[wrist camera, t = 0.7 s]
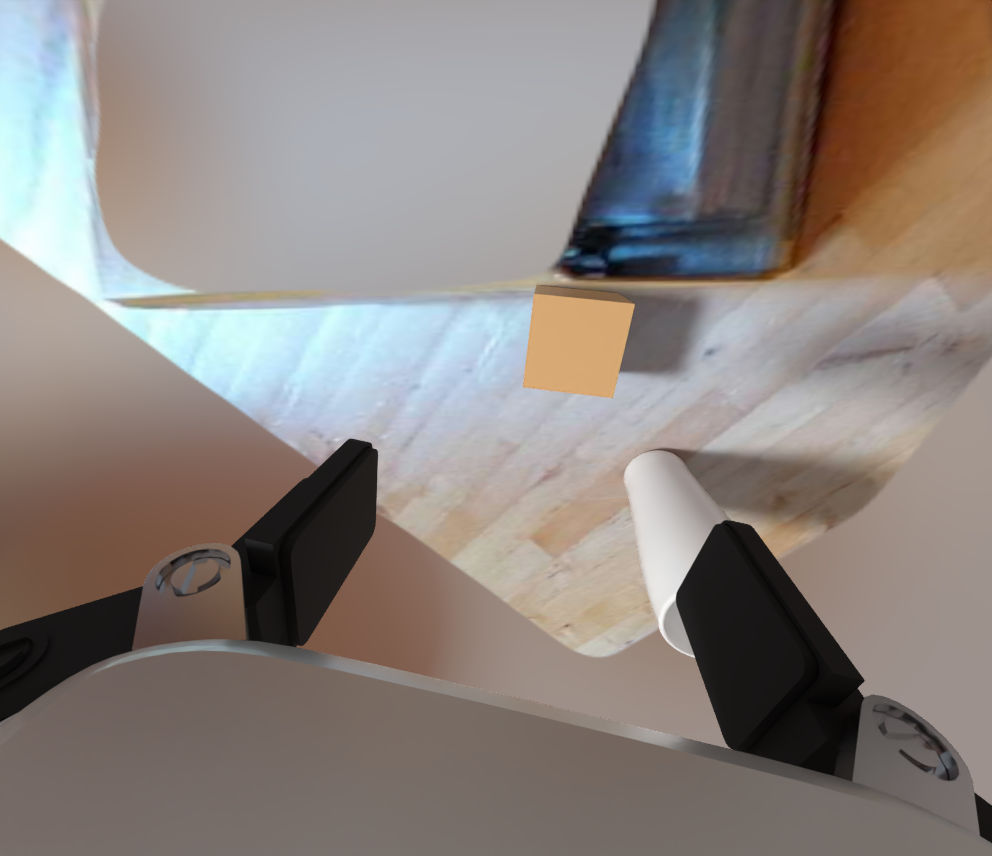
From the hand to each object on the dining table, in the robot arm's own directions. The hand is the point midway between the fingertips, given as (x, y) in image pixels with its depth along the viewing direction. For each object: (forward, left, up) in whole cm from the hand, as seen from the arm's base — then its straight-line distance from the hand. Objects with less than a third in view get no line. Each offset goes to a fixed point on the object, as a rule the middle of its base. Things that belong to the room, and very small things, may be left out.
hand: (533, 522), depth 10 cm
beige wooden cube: (-2, -1, -22) cm, 22 cm away
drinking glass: (-11, +10, -22) cm, 27 cm away
